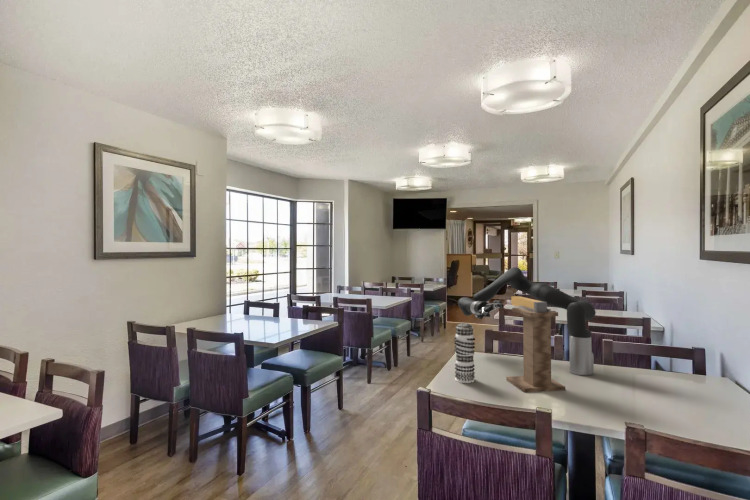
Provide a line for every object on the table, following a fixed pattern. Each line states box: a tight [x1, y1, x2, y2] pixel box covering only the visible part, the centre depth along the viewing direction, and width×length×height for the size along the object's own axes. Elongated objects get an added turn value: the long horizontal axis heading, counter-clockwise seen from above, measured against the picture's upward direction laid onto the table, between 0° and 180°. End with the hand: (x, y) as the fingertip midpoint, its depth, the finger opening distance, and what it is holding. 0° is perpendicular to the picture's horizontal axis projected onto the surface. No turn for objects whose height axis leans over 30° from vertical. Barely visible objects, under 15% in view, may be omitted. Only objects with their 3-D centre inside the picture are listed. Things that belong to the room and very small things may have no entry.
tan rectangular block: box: [510, 295, 548, 312], centre depth 181 cm, size 5×23×4 cm, turn 8°
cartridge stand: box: [505, 305, 566, 393], centre depth 176 cm, size 18×16×33 cm
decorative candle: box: [453, 322, 476, 384], centre depth 183 cm, size 9×9×25 cm
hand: (495, 310), depth 203 cm, fingers open, 8 cm apart
